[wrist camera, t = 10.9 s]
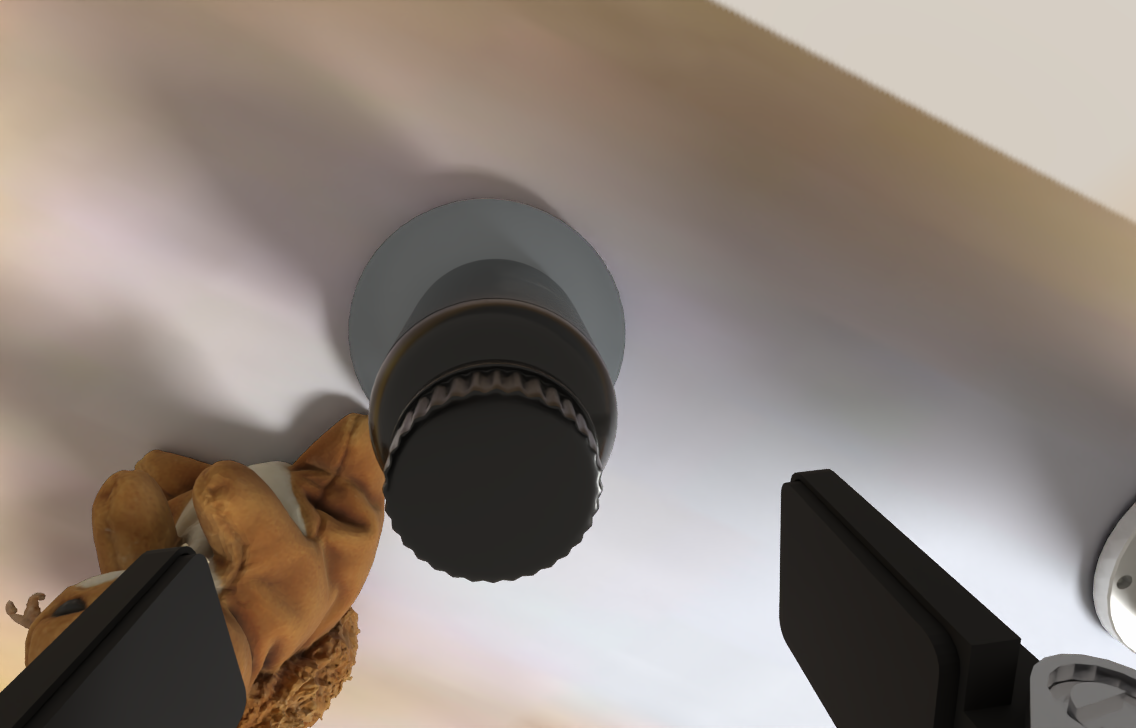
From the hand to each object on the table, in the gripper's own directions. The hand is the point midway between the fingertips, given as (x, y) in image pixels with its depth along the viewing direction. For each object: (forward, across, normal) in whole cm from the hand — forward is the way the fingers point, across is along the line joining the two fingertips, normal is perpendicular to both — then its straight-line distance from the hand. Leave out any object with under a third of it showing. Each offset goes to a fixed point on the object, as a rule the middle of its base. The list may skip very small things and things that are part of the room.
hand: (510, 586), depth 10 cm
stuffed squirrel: (+17, +11, +8) cm, 22 cm away
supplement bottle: (+16, +1, 0) cm, 16 cm away
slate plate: (+17, +1, 0) cm, 17 cm away
